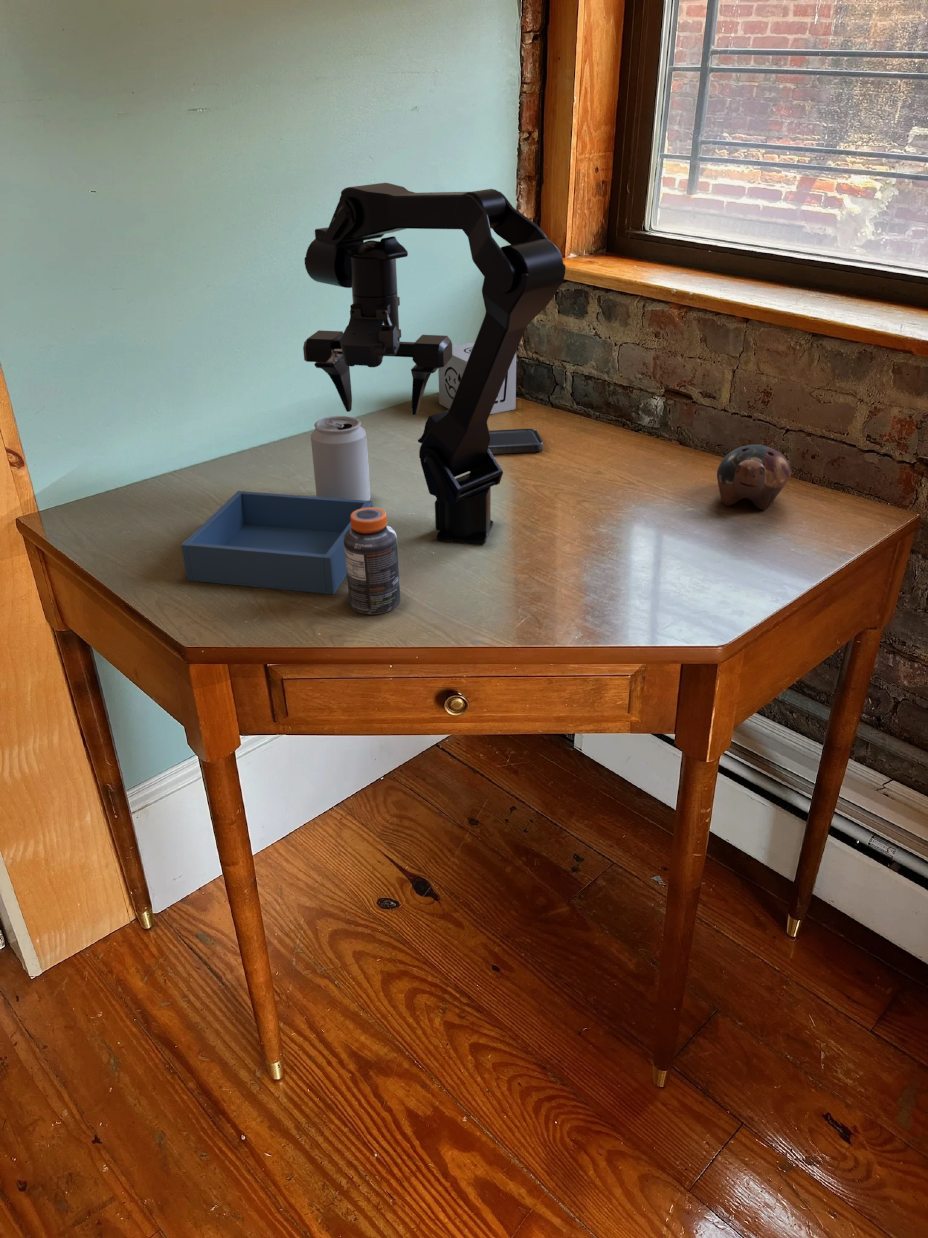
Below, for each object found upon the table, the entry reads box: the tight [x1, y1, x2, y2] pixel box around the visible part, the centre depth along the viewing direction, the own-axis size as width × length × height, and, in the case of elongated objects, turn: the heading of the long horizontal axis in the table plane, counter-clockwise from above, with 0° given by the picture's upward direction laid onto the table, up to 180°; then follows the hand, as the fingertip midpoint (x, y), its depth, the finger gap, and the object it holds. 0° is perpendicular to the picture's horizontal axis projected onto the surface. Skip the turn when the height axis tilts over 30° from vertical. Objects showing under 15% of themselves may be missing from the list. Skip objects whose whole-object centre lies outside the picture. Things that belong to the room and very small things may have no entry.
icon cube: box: [437, 341, 517, 415], centre depth 169 cm, size 10×10×10 cm
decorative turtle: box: [716, 444, 791, 511], centre depth 132 cm, size 10×15×8 cm, turn 163°
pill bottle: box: [344, 506, 402, 615], centre depth 107 cm, size 6×6×11 cm
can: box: [310, 415, 371, 501], centre depth 132 cm, size 8×8×12 cm
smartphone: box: [488, 428, 544, 455], centre depth 154 cm, size 8×1×15 cm
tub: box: [180, 490, 373, 595], centre depth 120 cm, size 19×17×5 cm
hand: (381, 412), depth 129 cm, fingers open, 9 cm apart
